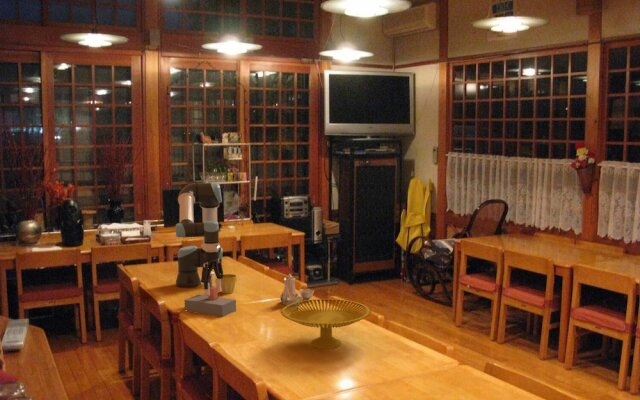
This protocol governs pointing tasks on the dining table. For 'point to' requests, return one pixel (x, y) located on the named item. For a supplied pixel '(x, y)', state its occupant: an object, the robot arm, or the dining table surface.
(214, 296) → the tab
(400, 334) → the dining table surface
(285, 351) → the dining table surface
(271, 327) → the dining table surface
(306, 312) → the pedestal fruit bowl
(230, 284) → the plant pot
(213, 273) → the bobbin
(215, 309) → the notched board
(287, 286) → the chinaware
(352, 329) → the dining table surface
